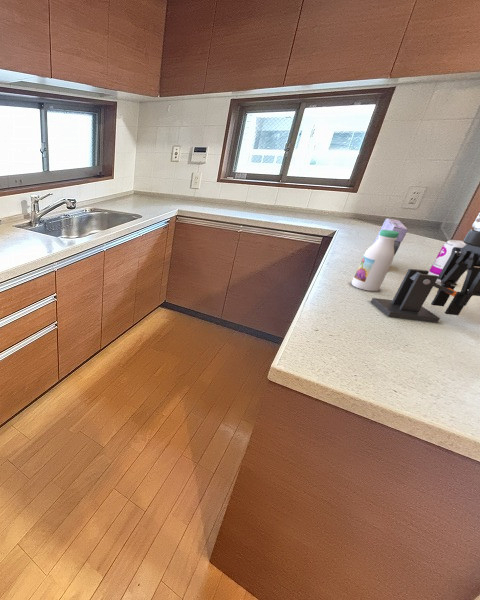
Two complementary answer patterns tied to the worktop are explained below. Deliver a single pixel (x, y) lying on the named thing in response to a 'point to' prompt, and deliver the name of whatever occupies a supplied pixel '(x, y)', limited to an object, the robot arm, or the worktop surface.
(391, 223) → the cake pan box
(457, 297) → the robot arm
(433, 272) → the supplement can
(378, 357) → the worktop surface
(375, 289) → the milk bottle
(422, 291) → the switch base
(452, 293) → the switch lever
